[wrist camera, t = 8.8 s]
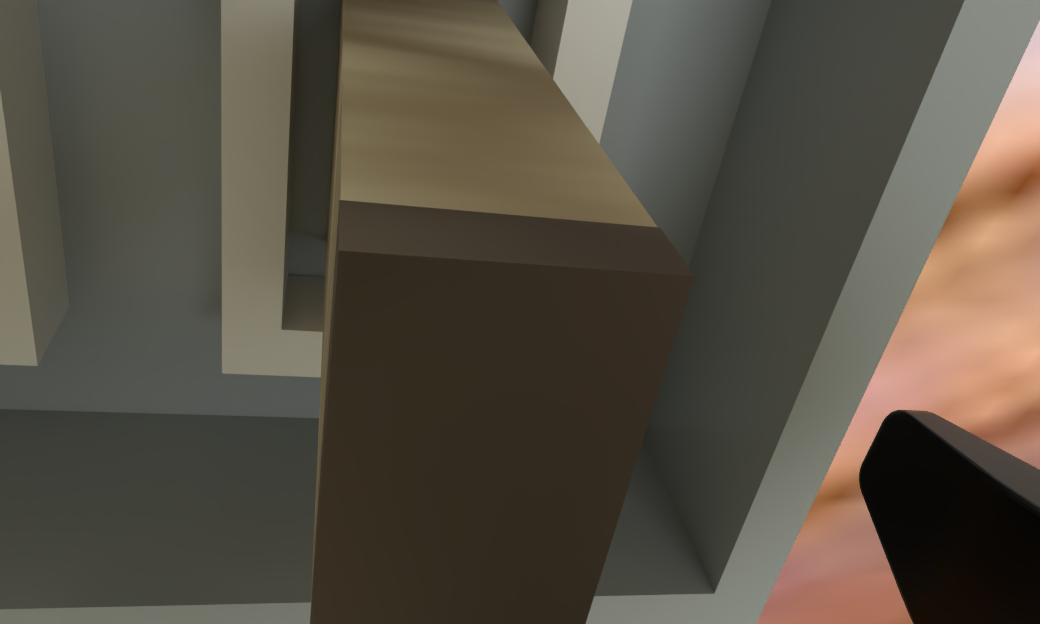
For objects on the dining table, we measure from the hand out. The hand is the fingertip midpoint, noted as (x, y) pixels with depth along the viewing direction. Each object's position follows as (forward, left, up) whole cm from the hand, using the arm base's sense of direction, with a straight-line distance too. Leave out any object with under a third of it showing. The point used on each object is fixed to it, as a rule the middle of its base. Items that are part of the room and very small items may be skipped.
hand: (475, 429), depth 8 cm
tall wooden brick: (0, 0, -9) cm, 9 cm away
